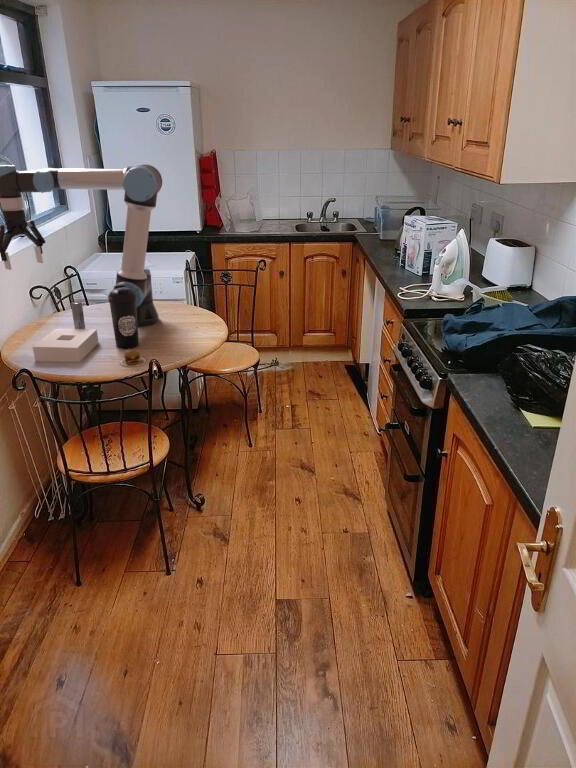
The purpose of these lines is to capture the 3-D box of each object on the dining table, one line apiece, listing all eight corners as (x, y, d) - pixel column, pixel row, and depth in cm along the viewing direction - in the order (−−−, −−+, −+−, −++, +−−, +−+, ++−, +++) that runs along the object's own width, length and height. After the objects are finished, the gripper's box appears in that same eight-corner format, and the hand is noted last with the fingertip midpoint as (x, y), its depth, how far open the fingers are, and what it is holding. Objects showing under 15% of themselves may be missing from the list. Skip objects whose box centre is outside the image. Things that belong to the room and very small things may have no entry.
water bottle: (117, 351, 209) (109, 291, 199) (111, 343, 217) (104, 285, 208) (144, 347, 213) (138, 288, 204) (137, 339, 221) (131, 282, 212)
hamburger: (151, 357, 206) (149, 343, 204) (149, 369, 195) (148, 355, 193) (117, 358, 204) (116, 344, 202) (114, 371, 194) (112, 356, 191)
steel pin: (88, 335, 225) (83, 301, 219) (84, 338, 221) (79, 304, 215) (78, 335, 225) (73, 301, 219) (74, 338, 221) (69, 304, 215)
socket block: (98, 342, 217) (96, 329, 215) (79, 362, 199) (77, 347, 197) (57, 341, 218) (55, 328, 215) (35, 361, 199) (32, 346, 197)
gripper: (36, 205, 220) (46, 258, 229) (-25, 212, 201) (-12, 271, 210) (48, 206, 217) (58, 260, 225) (-13, 213, 198) (0, 273, 206)
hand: (24, 265), depth 218 cm, fingers open, 13 cm apart
